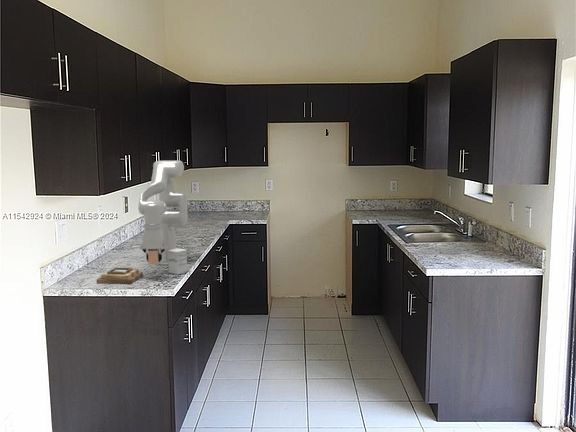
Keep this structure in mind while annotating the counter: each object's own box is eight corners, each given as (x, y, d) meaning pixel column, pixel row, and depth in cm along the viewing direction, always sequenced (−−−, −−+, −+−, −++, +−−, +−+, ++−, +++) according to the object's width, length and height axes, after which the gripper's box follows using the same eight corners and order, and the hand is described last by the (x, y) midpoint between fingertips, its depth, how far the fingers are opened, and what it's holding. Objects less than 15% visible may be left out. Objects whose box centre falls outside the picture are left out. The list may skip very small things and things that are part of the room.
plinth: (110, 275, 283) (110, 266, 282) (143, 276, 281) (142, 266, 280) (96, 283, 267) (96, 273, 266) (130, 284, 265) (130, 274, 264)
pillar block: (150, 261, 278) (150, 248, 277) (160, 261, 278) (159, 248, 277) (148, 264, 273) (147, 251, 272) (158, 264, 273) (157, 250, 272)
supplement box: (168, 272, 288) (167, 250, 286) (178, 270, 294) (177, 247, 292) (178, 274, 284) (177, 251, 282) (187, 271, 290) (187, 249, 288)
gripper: (134, 228, 268) (136, 263, 271) (167, 228, 269) (169, 262, 272) (137, 225, 276) (139, 259, 279) (170, 225, 276) (172, 259, 279)
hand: (154, 260), depth 275 cm, fingers closed on pillar block, 5 cm apart
